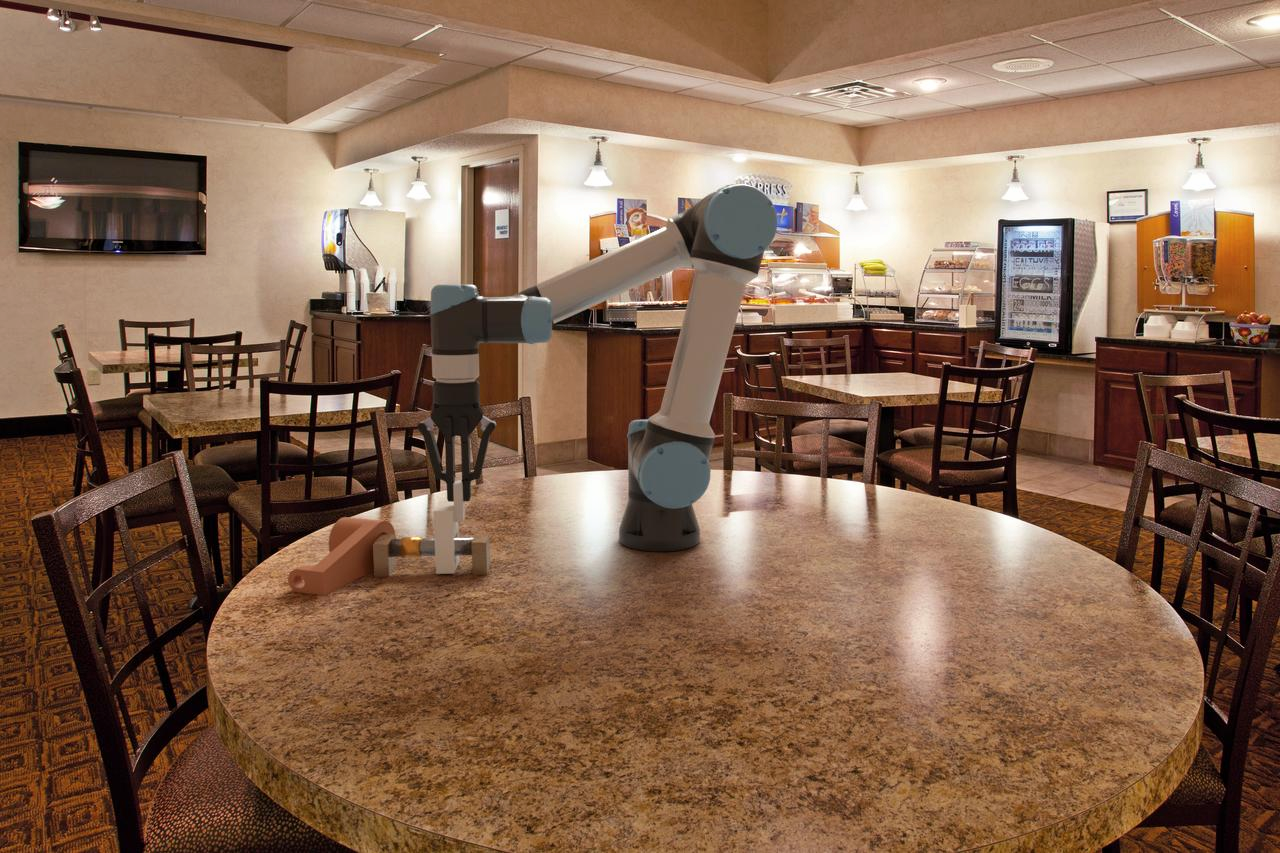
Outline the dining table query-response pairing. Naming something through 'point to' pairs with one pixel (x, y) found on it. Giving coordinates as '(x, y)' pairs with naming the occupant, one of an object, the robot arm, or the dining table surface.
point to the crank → (342, 556)
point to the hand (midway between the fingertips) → (459, 519)
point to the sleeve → (445, 538)
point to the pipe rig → (428, 551)
